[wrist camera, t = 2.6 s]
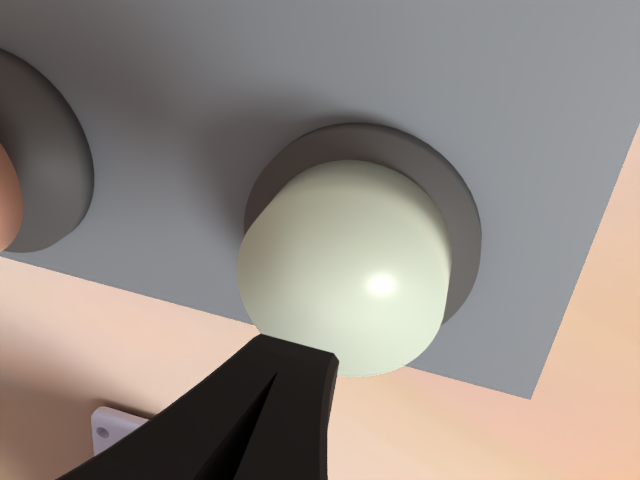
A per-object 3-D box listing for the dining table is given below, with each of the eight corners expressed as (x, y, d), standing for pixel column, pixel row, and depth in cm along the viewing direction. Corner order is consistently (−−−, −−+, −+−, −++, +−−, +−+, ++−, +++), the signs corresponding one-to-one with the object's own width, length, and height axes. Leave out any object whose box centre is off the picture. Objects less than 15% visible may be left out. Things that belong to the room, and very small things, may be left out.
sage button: (429, 349, 15) (420, 399, 13) (258, 304, 16) (230, 346, 14) (473, 184, 13) (469, 221, 11) (272, 141, 13) (243, 169, 12)
